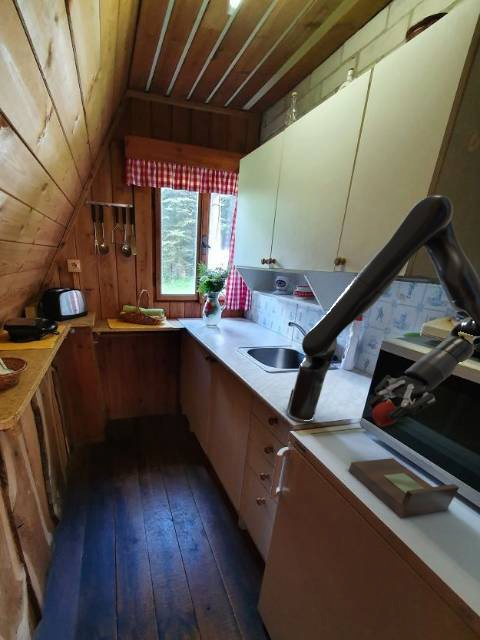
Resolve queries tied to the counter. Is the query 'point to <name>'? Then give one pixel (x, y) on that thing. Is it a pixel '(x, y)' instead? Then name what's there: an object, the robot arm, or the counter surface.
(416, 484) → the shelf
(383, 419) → the red pomegranate
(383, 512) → the counter surface
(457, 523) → the counter surface
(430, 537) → the counter surface
